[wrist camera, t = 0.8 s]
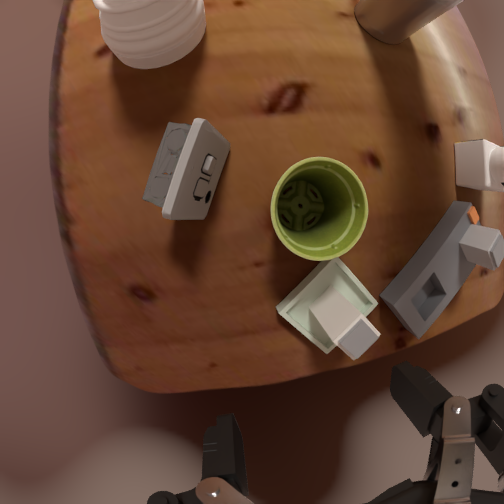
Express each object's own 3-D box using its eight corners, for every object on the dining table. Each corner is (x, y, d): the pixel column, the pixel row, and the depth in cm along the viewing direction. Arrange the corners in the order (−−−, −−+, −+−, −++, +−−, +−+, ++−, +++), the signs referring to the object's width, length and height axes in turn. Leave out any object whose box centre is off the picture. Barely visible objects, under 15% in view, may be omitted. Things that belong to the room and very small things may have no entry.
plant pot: (242, 202, 32) (248, 205, 23) (300, 150, 31) (325, 136, 22) (295, 259, 34) (316, 281, 25) (348, 208, 33) (385, 214, 24)
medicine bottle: (476, 150, 33) (527, 147, 21) (478, 190, 34) (529, 195, 23) (453, 142, 32) (507, 136, 20) (455, 185, 34) (511, 189, 22)
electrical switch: (205, 220, 32) (187, 227, 23) (165, 206, 31) (133, 209, 22) (231, 144, 30) (223, 121, 21) (191, 132, 30) (168, 108, 21)
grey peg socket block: (453, 200, 34) (502, 206, 24) (472, 239, 36) (516, 252, 26) (379, 295, 36) (422, 326, 26) (405, 328, 38) (444, 360, 27)
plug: (330, 284, 34) (364, 315, 25) (348, 303, 35) (383, 336, 25) (308, 307, 34) (334, 344, 25) (327, 324, 35) (356, 363, 26)
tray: (330, 251, 34) (336, 255, 32) (371, 298, 36) (378, 303, 34) (275, 306, 35) (278, 313, 33) (322, 347, 37) (327, 354, 35)
